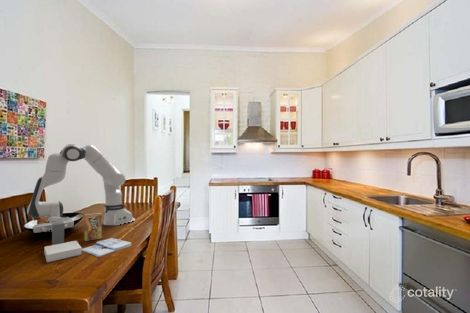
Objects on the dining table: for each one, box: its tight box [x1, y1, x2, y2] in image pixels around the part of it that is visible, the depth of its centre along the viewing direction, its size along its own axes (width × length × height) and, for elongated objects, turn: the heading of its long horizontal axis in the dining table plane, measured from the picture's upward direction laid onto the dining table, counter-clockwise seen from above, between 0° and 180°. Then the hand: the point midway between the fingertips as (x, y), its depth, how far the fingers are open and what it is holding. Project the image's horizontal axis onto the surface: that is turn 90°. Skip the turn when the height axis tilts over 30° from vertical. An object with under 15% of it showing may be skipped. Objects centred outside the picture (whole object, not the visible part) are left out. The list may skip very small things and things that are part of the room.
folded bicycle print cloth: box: [81, 237, 133, 258], centre depth 134 cm, size 19×20×2 cm
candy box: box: [84, 212, 103, 242], centre depth 147 cm, size 9×4×15 cm, turn 119°
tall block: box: [51, 222, 65, 245], centre depth 138 cm, size 5×5×12 cm
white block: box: [43, 240, 82, 263], centre depth 125 cm, size 14×14×4 cm
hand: (55, 228), depth 146 cm, fingers open, 8 cm apart
